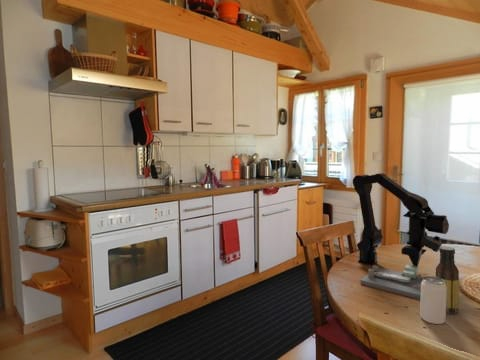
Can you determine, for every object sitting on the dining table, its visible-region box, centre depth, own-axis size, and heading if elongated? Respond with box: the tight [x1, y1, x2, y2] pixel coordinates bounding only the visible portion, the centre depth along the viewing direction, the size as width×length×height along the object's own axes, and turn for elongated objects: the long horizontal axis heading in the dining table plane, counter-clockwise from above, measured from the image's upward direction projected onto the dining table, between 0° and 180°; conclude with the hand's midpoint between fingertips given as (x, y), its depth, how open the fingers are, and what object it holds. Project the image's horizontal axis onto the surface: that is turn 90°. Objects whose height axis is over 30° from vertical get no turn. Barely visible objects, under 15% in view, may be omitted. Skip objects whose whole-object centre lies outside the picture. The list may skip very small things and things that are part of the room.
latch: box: [402, 264, 419, 279], centre depth 121 cm, size 4×6×4 cm, turn 138°
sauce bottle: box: [434, 245, 460, 315], centre depth 99 cm, size 6×6×20 cm
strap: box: [374, 271, 411, 282], centre depth 120 cm, size 14×3×1 cm, turn 48°
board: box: [360, 264, 424, 301], centre depth 119 cm, size 22×17×4 cm
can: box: [419, 276, 447, 325], centre depth 94 cm, size 6×6×12 cm
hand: (415, 267), depth 127 cm, fingers closed
